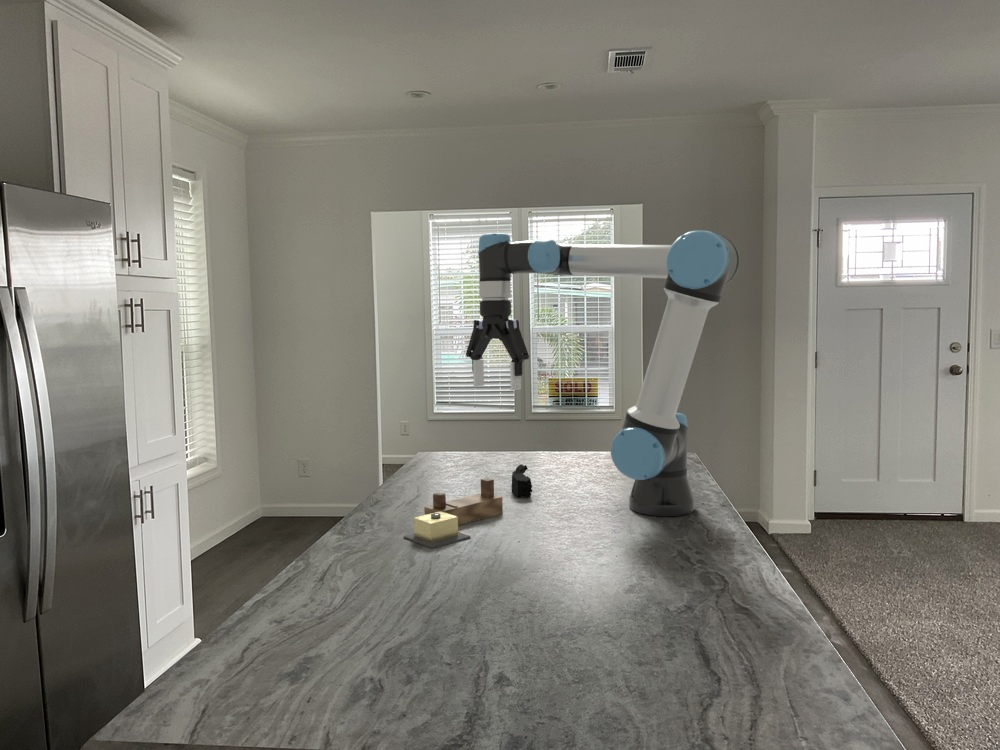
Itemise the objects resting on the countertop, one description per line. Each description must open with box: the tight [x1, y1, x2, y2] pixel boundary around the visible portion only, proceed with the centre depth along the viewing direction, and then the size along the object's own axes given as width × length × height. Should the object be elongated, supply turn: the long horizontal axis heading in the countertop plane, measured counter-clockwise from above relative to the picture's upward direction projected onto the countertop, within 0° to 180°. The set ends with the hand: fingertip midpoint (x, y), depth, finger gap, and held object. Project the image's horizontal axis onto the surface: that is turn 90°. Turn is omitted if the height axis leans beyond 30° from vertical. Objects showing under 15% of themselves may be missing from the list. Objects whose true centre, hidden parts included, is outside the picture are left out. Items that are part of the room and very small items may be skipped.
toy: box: [511, 463, 533, 499], centre depth 193 cm, size 15×5×7 cm, turn 2°
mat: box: [403, 531, 471, 549], centre depth 156 cm, size 10×10×1 cm
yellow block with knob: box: [413, 511, 459, 543], centre depth 156 cm, size 7×6×5 cm
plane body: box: [423, 477, 504, 526], centre depth 169 cm, size 18×6×8 cm, turn 131°
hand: (496, 388), depth 179 cm, fingers open, 13 cm apart
